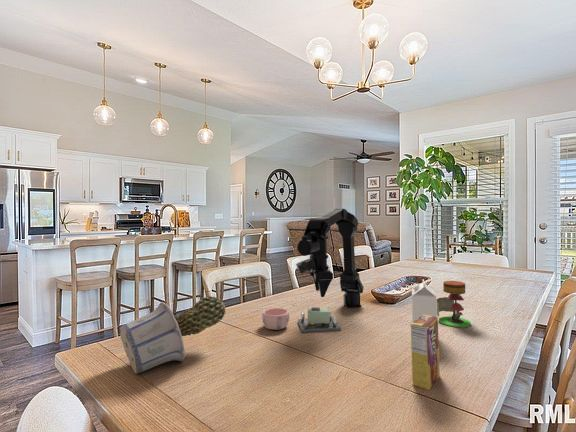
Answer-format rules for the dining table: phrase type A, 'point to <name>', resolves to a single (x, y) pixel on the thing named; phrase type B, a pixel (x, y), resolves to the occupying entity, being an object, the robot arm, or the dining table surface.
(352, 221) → the robot arm
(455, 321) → the brown and green pedestal
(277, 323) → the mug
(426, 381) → the candy box
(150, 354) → the potted plant
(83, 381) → the dining table surface
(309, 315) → the pale green block
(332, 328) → the chassis
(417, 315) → the milk carton
